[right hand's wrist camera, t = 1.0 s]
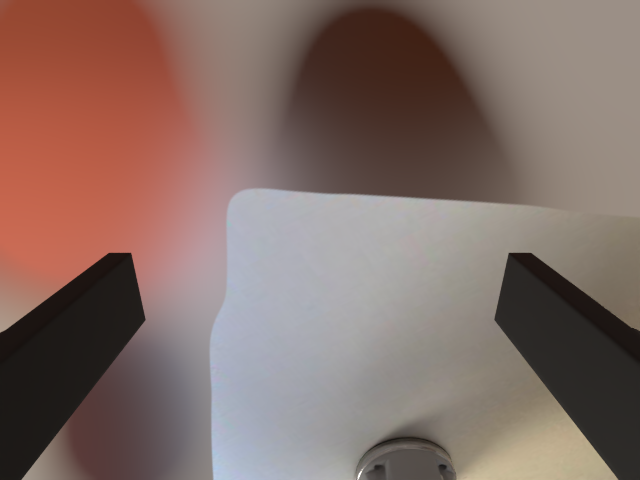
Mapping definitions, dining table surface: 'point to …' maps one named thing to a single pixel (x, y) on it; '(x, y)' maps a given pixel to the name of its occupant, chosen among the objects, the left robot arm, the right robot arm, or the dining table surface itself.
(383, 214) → the dining table surface
